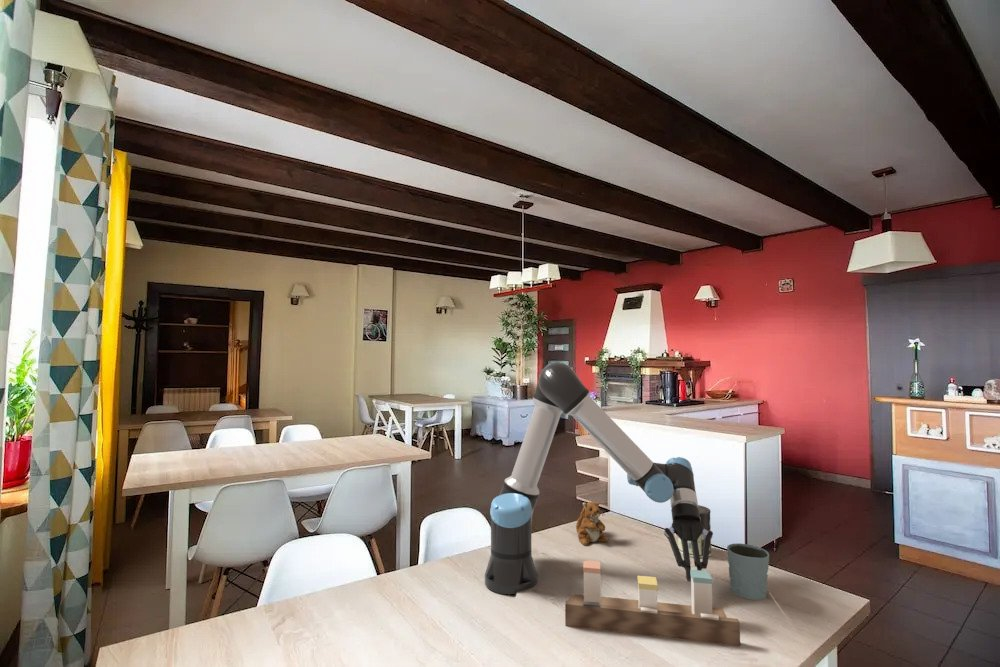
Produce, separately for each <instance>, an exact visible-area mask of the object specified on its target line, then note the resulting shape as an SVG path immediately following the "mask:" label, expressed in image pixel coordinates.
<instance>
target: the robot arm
mask: <svg viewBox="0 0 1000 667" xmlns="http://www.w3.org/2000/svg"><path fill="white" fill-rule="evenodd" d="M532 400H533V401H534V408H533V411H532V413H531V417H530V419H529V421H528V425H527V428H526V431H525V433H524V437H523V440H522V443H521V445H520V449H519V451H518V455H517V457H516V460H515V464H514V466H513V469H512V472H511V475H510V476H509V477H506V478H505V479H504V480H503V484H502V487H501V489H500V492H499V495H497V496H496V497H494V498H493V499H492V501H491V503H490V509H489V510H490V511H489V514H490V556H489V560H488V562H487V566H486V569H485V573H484V585H485V587H486V588H487V589H488V590H490V591H492V592H493V593H497V594H501V595H506V594H508V596H511V595H510V594H516V595H517V593H519V592H524V591H528V590H530V589H532V588H534V587H535V586H537V584H538V581H539V579H538V578H539V577H538V576H539V575H538V571H537V568H536V564H535V561H534V558H533V555H532V554H533V553H532V524H533V522H532V521H533V514H534V510H535V508H536V505H537V502H538V499H539V495H540V489H539V488H538V483H539V480H540V478H541V474H542V471H543V469H544V465H545V463H546V459H547V457H548V453H549V452H550V451H549V450H550V447H551V445H552V442H553V439H554V436H555V432H556V431H557V427H558V424H559V421H560V418H561V415H562V414H563V413H564V414H565V415H566V416H571V417H573V419H574V420H575V421H576V422H577V423H578V424H579V425H580V426H581V427H582V428H583V429H584V430H585V431H586V432H587V433H588V434H589V435H590V436H591V437H592V438H593V440H594V441H596V443H597V444H598V445H599V446H600V447H601V448H602V450H604V451H605V453H607V454H608V455H609V456H610V458H612V459H613V460H614V461H615V463H616V464H618V466H619V467H620V468H622V470H623V471H625V473H626V477H627V478H626V479H627V483H628V484H629V485H632V486H636V487H639V488H640V489H641V490H642V491H643V492H644V493H645V495H646V496H647V497H648V498H649V499H650V500H652V501H653V502H655V503H659V504H661V503H666V502H667V501H669V500H670V502H669V503H670V507H671V509H670V510H671V519H672V523H671V526H670V527H665V528H664V533H663V534H664V536H665V537H666V538H667V540H668V542H669V545H670V548H671V549H672V553H673V556H674V559H675V561H676V562H675V563H676V564H677V566H678V567H682V568H683V569H684V570H685V578H686V581H687V582H690V583H691V575H690V570H700V571H703V570H704V569H707V567H708V566H709V565H708V564H709V557H708V556H709V546H710V540H711V541H712V538H713V535H714V533H713V531H712V530H711V531H707V530H705V529H704V527H703V525H702V524H701V520H700V514H699V509H698V505H699V504H698V496H697V492H696V491H697V490H696V484H695V479H694V478H695V477H694V476H695V475H694V471H693V467H692V464H691V462H690V461H689V460H688V459H686V458H685V457H680V456H677V457H671V458H669V459H668V460H666V463H660V462H653V461H652V459H651V458H650V457H649V456H648V455H647V454H646V453H645V452H644V451H643V450H642V449H641V448H640V447H639V446H638V445H637V444H636V443H635V442H634V441H633V440H632V439H631V438H630V437H629V436H628V434H626V432H625V431H623V429H622V428H621V427H620V426H619V425H618V424H616V422H615V421H614V420H613V419H612V418H611V417H610V416H609V415H608V414H607V412H605V411H604V409H602V408H601V407H600V406H599V405H598V403H597V401H595V400H594V399H593V398H592V397H591V391H590V390H589V389H588V388H587V387H586V386H585V384H584V383H583V382H582V381H581V379H580V378H579V377H578V375H577V374H576V372H575V370H574V369H573V368H572V367H571V366H570V365H568V364H567V363H564V362H559V361H554V362H550V363H549V364H547V365H546V366H544V367H543V368H542V370H541V371H540V374H539V377H538V380H537V384H536V387H535V390H534V394H533V396H532ZM702 533H703V538H704V539H705V541H704V549H703V558H700V555H699V549H698V542H697V540H698V538H699V537H700V535H701V534H702ZM675 535H676V536H677V537H679V538H680V539H681V543H682V549H683V554H682V553H680V551H679V545H678V543H677V541H676V538H675ZM688 541H691V545H692V550H693V557H692V558H693V563H694V566H692V565H691V557H690V556H689V549H688ZM682 555H683V556H682ZM701 559H702V561H701Z"/></svg>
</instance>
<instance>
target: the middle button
mask: <svg viewBox="0 0 1000 667" xmlns="http://www.w3.org/2000/svg"><path fill="white" fill-rule="evenodd" d="M658 590H659V586H658V581H657V577H656V576H649V575H637V594H638V596H637V597H638V599H637V600H638V608H639V609H641V607H646V608H655V609H657V610H658V607H657V602H658Z"/></svg>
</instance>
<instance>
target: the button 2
mask: <svg viewBox="0 0 1000 667" xmlns="http://www.w3.org/2000/svg"><path fill="white" fill-rule="evenodd" d="M690 575H691V582H690V589H691V590H690V591H691V594H690V595H691V598H690V599H691V601H690V602H691V606H692V614H697V615H700V613H703V614H712V608H713V586H712V585H713V578H712V575H711V574H710V572H709V570H702V571H700V570H690Z"/></svg>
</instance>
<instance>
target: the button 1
mask: <svg viewBox="0 0 1000 667" xmlns="http://www.w3.org/2000/svg"><path fill="white" fill-rule="evenodd" d="M582 568H583V569H582V570H583V595H584V601H588V602H597V603H599V604H601V601H600V596H601V561H594V560H583V567H582Z"/></svg>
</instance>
